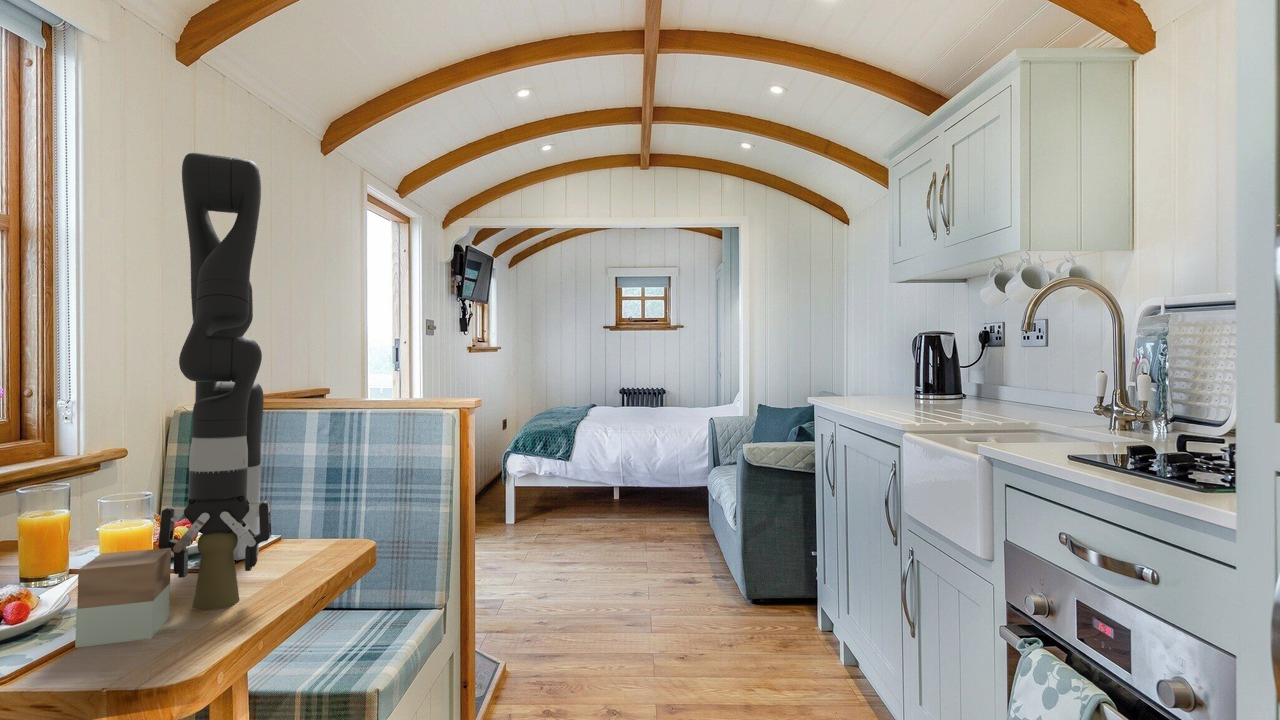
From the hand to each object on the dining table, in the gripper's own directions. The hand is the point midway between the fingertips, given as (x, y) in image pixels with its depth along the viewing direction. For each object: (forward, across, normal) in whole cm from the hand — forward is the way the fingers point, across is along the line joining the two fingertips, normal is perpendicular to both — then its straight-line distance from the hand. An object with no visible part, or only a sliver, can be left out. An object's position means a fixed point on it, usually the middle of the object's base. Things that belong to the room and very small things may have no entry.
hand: (216, 573), depth 98 cm
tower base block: (+5, +9, +8) cm, 13 cm away
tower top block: (0, +9, +8) cm, 12 cm away
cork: (+5, 0, 0) cm, 5 cm away
